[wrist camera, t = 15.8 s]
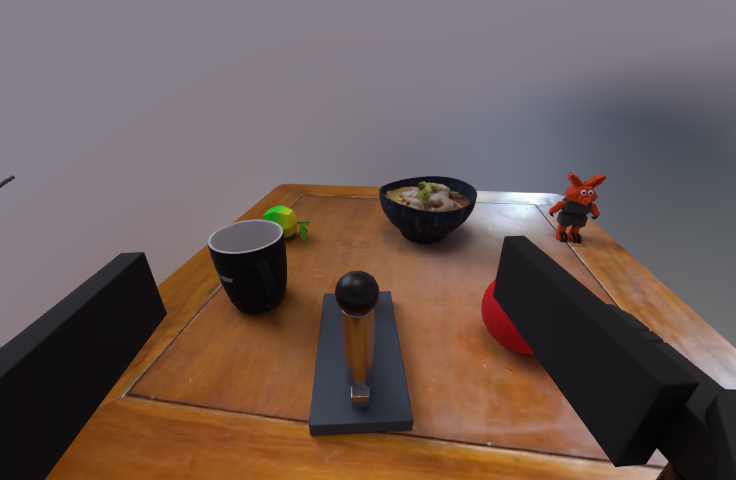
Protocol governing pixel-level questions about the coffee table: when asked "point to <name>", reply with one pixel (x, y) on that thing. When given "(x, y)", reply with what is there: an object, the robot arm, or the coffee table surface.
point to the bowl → (427, 206)
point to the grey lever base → (335, 393)
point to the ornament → (501, 324)
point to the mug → (251, 263)
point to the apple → (286, 220)
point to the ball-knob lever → (358, 332)
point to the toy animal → (576, 207)
